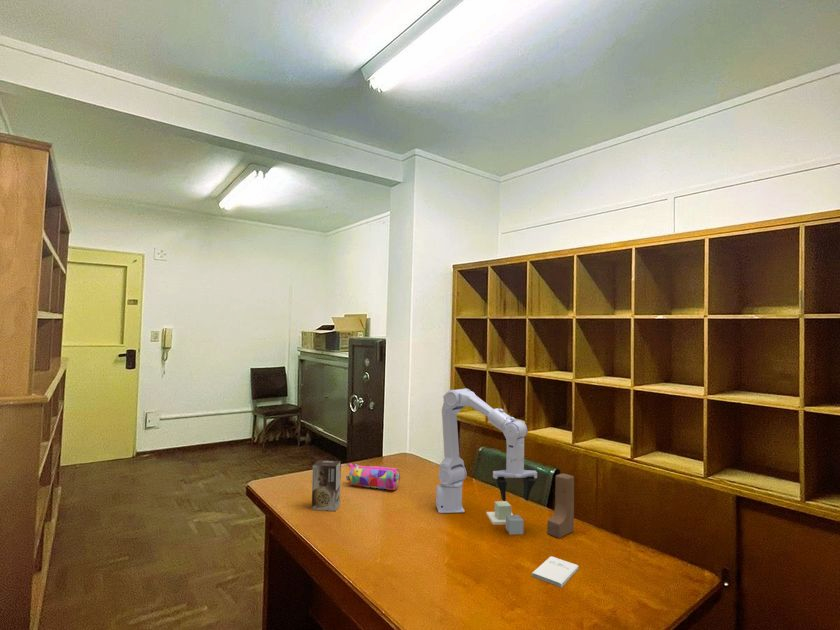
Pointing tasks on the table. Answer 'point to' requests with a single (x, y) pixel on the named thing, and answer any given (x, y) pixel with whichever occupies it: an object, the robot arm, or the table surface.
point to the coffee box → (326, 485)
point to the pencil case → (374, 477)
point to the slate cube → (514, 524)
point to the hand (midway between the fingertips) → (514, 499)
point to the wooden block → (562, 507)
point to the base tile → (495, 519)
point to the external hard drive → (555, 571)
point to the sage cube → (502, 509)
